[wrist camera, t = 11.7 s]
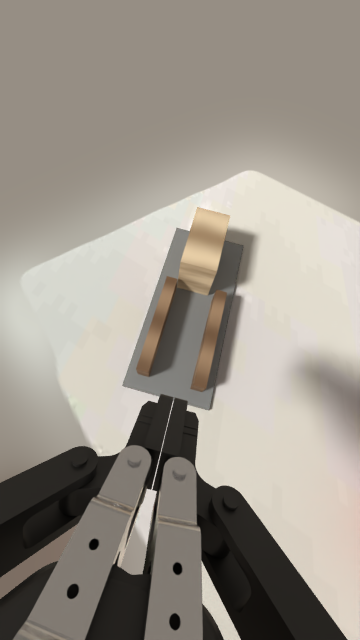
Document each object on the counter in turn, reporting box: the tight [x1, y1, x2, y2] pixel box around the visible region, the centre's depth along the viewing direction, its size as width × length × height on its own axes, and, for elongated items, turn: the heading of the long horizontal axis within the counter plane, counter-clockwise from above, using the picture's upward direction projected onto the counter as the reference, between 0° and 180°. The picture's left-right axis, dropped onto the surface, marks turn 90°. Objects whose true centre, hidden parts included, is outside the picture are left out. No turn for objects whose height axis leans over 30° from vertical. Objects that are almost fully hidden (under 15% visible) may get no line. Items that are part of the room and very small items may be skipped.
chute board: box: [122, 228, 243, 410], centre depth 40 cm, size 28×12×1 cm, turn 165°
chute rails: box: [136, 276, 227, 392], centre depth 37 cm, size 14×9×4 cm, turn 165°
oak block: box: [177, 207, 230, 296], centre depth 40 cm, size 10×5×7 cm, turn 165°
